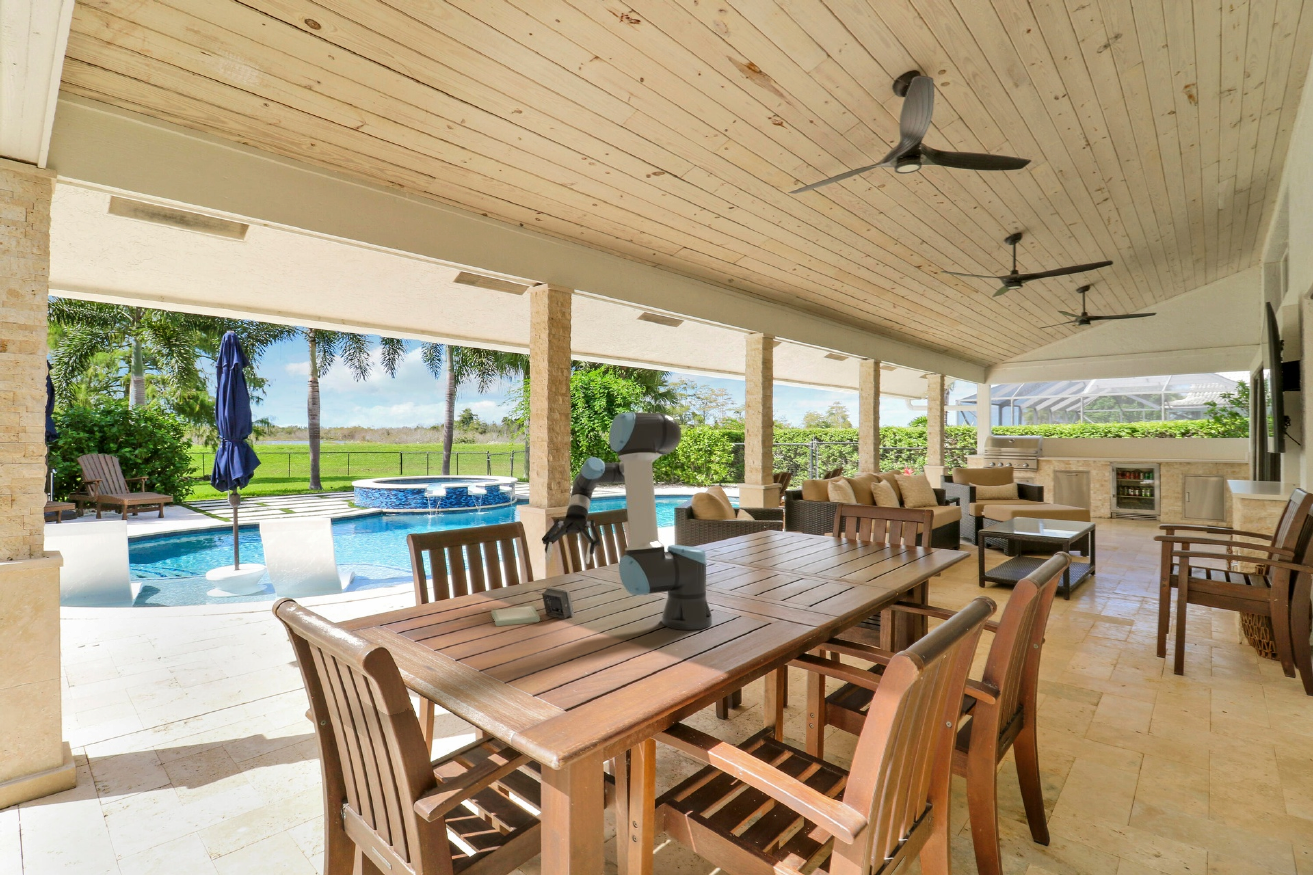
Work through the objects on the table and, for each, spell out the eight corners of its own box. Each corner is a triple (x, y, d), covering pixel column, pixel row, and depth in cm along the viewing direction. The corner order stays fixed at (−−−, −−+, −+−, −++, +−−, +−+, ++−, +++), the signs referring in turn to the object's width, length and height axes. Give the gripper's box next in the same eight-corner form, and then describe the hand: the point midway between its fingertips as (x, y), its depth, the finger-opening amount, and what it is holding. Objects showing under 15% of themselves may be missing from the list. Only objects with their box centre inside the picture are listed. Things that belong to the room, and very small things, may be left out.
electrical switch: (574, 616, 196) (572, 587, 195) (563, 622, 191) (561, 592, 190) (552, 612, 201) (550, 584, 200) (541, 617, 196) (539, 588, 196)
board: (539, 621, 190) (539, 616, 190) (496, 626, 185) (496, 620, 185) (532, 610, 202) (532, 605, 202) (491, 614, 197) (491, 609, 197)
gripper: (613, 517, 222) (605, 568, 208) (546, 516, 225) (533, 566, 210) (611, 504, 217) (602, 555, 202) (541, 503, 220) (528, 553, 205)
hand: (567, 561), depth 206 cm, fingers open, 13 cm apart
